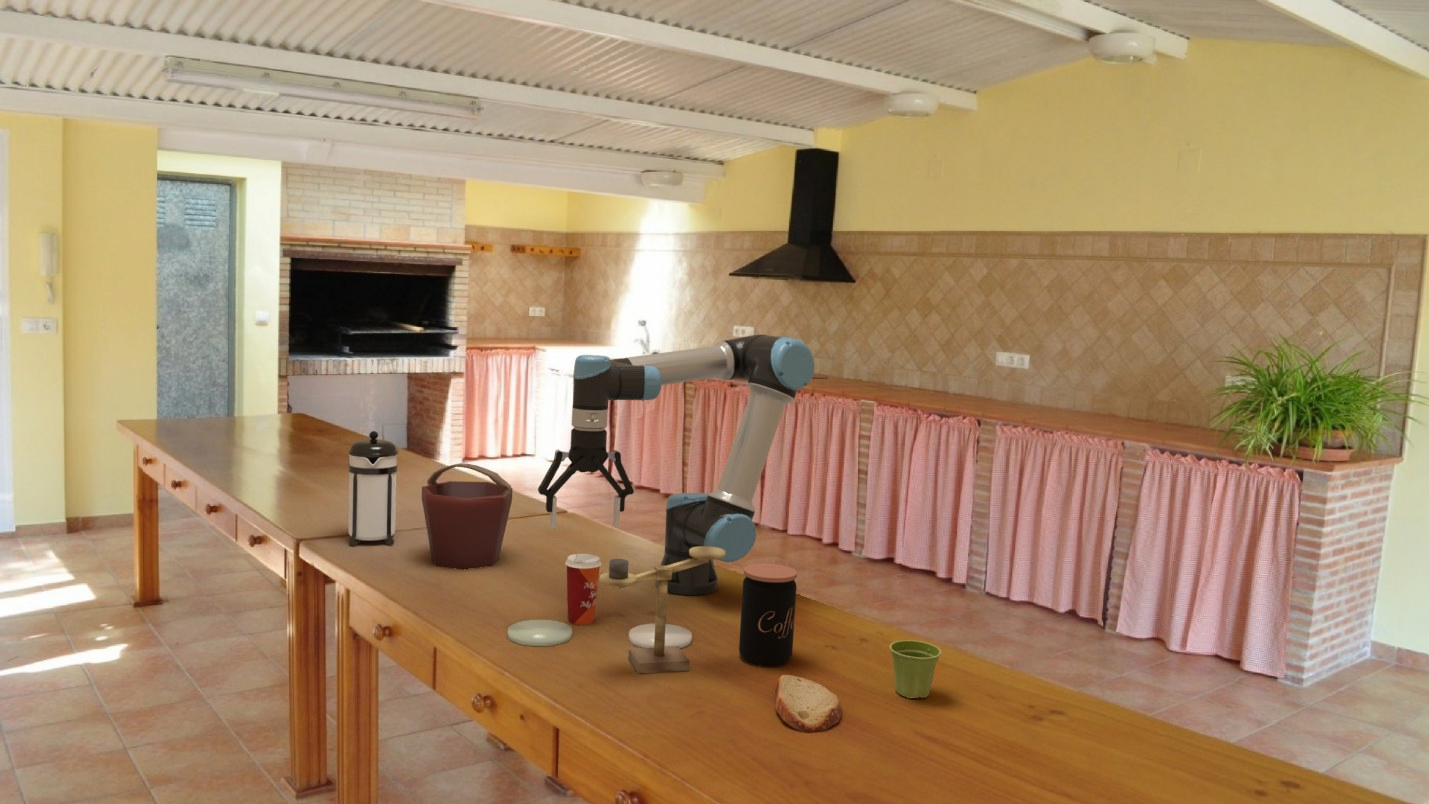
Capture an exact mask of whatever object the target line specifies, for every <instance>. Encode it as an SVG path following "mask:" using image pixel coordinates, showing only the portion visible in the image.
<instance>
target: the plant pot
mask: <svg viewBox="0 0 1429 804" xmlns="http://www.w3.org/2000/svg"><path fill="white" fill-rule="evenodd" d="M889 650H890V651H891V657H892V659H893V670H894V671H893V673H894V686H895V687H894V688H895V692H896V691H897V692H896V693H897V694H898V693H899V694H901V695H903V696H908V697H915V698H916V699H920V698H919V697H924V696H928V695H929V696H930V691H931V688H932V682H933V678H934V674H935V669H936V666H937V665H936V664H937V663H938V661H939V657H941V655H942V650H941V649H940V647H938V646H936V645H935V644H932V643H929V642H925V641H920V640H913V639H910V640H909V639H907V640H906V639H904V640H897V641H893V642H892V643H890V645H889ZM899 694H898V695H899ZM929 696H928V697H929Z"/></svg>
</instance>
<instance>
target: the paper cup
mask: <svg viewBox="0 0 1429 804" xmlns="http://www.w3.org/2000/svg"><path fill="white" fill-rule="evenodd" d="M600 560H601V559H600V557H599V556H597V555H595V554H589V553H575V554H570V555H568V556H567V559H566V561H565V562H564V564H565V566H566V594H567V595H566V597H567V598H566V599H567V600H566V601H567V602H566V603H567V621H568V623H569V624H572V625H576V626H588V625H591V624H593V623H594V621H595V616H596V609H597V608H596V607H597V597H598V589H599V588H598V587H599V579H600V575H599V574H600V568H601V566H602V562H601V561H600Z"/></svg>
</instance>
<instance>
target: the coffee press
mask: <svg viewBox="0 0 1429 804" xmlns="http://www.w3.org/2000/svg"><path fill="white" fill-rule="evenodd" d="M368 436H369V439H362V440H361V439H360V440H358V441H357V440H356V441H355V442H354V443H352V444H351V445H350V447H349V449H348V451H347V454H348V457H349V459H348V460H349V463H348V468H347V469H348V478H349V479H348V528H347V529H348V535H349V536H350V538H349V541H348V545H349V546H351V547H356V546H357V544H358V543H359V542H361V541H383V542H384V543H385V544H386V546H392V545H394V544H395V540H394V538H393V537H394V535H395V533H396V507H397V504H396V503H397V472H398V463H397V462H398V461H397V460H398V459H397V458H398V455H399V449H397V448H398V447H397V446H396V444H395V443H393V442H392V441H389V440H386V439H385V440H384V439H378V437H379V433H378V432H377V431H373V430H372V431H370V433H369V434H368Z"/></svg>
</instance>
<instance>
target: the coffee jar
mask: <svg viewBox="0 0 1429 804" xmlns="http://www.w3.org/2000/svg"><path fill="white" fill-rule="evenodd" d="M743 574H744V576H745V578H744V579H743V580H742V588H741V589H742V591H741V593H742V594H741V595H742V596H741V608H740V609H741V610H740V628H739V642H738V643H739V645H738V651H739V652H738V653H739V655H740V657H741V659H742V660H743V659H744V660H743V661H744V662H746V661H747V662H746V663H748V664H750V663H751V665H753V664H755V665H754V666H757V665H761V666H760V667H765V666H769V668H771V666H774V667H780V665H781V666H784V665H786V664H787V663H788V662H789V661H790V660H791V658H792V656H793V650H794V649H793V646H794V645H793V644H794V630H795V616H796V602H797V583H796V581H795V580H796V579H797V577H798V572H797V570H796V569H794V568H793V567H790V566H786V565H783V564H776V563H764V562H763V563H753V564H749V565H746V566H745V567H744V568H743ZM783 664H784V665H783Z"/></svg>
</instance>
